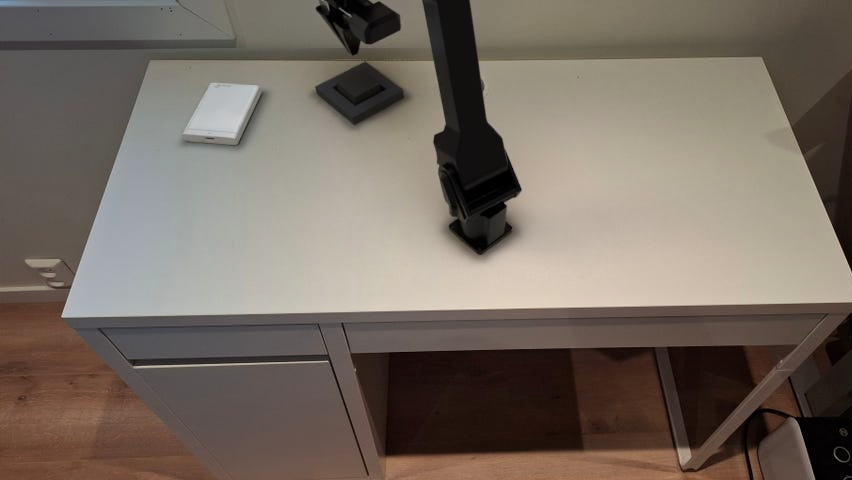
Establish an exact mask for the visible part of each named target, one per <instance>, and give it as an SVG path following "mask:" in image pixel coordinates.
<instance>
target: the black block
mask: <svg viewBox="0 0 852 480" xmlns="http://www.w3.org/2000/svg"><path fill="white" fill-rule="evenodd" d="M336 84H337V89H338V92H339V93H340V94H341V95H342V96H343V97H345V98H346V99H347V100H348V101H350V102H351V103H352V104H353V105H355V106H356V105H358V104H360V103H362V102H364V101H366V100H367V99H369V98H371V97H373V96H375V95H377V94H379V93H380V92H381V89H380V84H379V83H378V82H376V81H375V80H374V79H372V78H371V77H370V76H369V75H367V74H366V73H365V72H363V71H362V70H360V71H358V72H356V73H354V74H352V75H350V76H348V77H346V78H344V79H342V80H340V81H338V82H336Z"/></svg>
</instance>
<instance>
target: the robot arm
mask: <svg viewBox="0 0 852 480" xmlns="http://www.w3.org/2000/svg"><path fill="white" fill-rule="evenodd" d="M421 2H422V7H423V12H424V16H425V22H426V28H427V33H428V38H429V43H430V48H431V54H432V59H433V65H434V69H435V75H436V80H437V85H438V86H437V87H438V90H439V95H440V100H441V106H442V111H443V117H444V122H445V124H444V127H443V130H442V131H439V132H437V133H434V135H433V140H432V143H433V146H434V150H435V154H436V165H438V167H437V171H438V172H437V175H438V180H439V183H440V188H441V191H442V196H443V199H444V202H445V203H446V204H447V205H448V214H449V215H450V216H451V217H453V218H456V219H455V220H453V221H452V222H450V223H449V224H448V230H449V231H450V232H451V233H453V234H454V235H455V236H456V237H458V239H460V240H461V241H462V242H463V243H464V244H466V245H467V246H468V247H469V248H470V249H471V250H472V251H473V252H475V253H476V254H478V255H483V254H484V253H485V252H486V251H488V250H489V249H490V248H492V247H494V245H496V244H497V243H499V242H500V241H501V240H502V239H504V238H505V237H507V236H508V235H509V234H511V233H512V232H513V226H512V225H510V223H508V221H506V220H507V212H508V211H507V209H508V205H507V204H506V203H507V202H509V201H510V200H512V199H516V198H518V196H520V194H521V193H522V186H521V183H520V182H519V179H518V176H517V174H516V172H515V169H514V166H513V165H512V162H511V160H510V157H509V155H508V152H507V149H506V147H505V143H504V139H503V137H502V135H501V134H499V132H498V131H497V130H496V129H495V128H494V127H493V126H492V125H491V123H489V122H488V117H487V111H486V106H485V98H484V91H483V90H484V89H483V83H482V75H481V68H480V62H479V55H478V47H477V40H476V34H475V26H474V19H473V11H472V5H471V0H421ZM318 3H319V5H317V6H316V7H315V11H316V13H318V14H319V15H320V17H321V18H322V19H323V21H324V22H325V23H326V25H327V26H328V27H329V28H330V30H331V31H332V33H333V34H334V36H335V37H336V38H337V39H338V41H339V42H340V43H341V45H342V46H343V47H344V49H345V50H346V51H347V53H348V54H350V55H351V56H356V55H358V54H359V51H360V47H361V43H363V44H365V45H374V44H375V43H378V42H379V41H381V40H384V39H386V38H388V37H390V36H392V35H394V34H396V33H398V32H400V31H401V30H402V23H401V14H400V13H398V12H396V11H395V10H393V9H392V8H391V7H389V6H387V5H386V4H385V3H383V2H381V1H380V0H378V1H376V2H372V1H371V0H318Z"/></svg>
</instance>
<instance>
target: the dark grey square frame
mask: <svg viewBox="0 0 852 480" xmlns="http://www.w3.org/2000/svg"><path fill="white" fill-rule="evenodd" d="M360 70H362V71H363V72H365V73H366V74H367V75H369V76H370V77H371V78H372V79H374V80H375V81H376V82H378V83H379V84H380V89H381V92H380V93H379V94H377V95H375V96H373V97H371V98H369V99H367V100H366V101H364V102H362V103H360V104H358V105H356V106H355V105H353V104H352V103H351V102H350V101H348V100H347V99H346V98H345V97H343V96H342V95H341V94H340V93H339V92H338V89H337V84H336V82H338V81H340V80H342V79H344V78H346V77H348V76H350V75H352V74H354V73H356V72H358V71H360ZM314 88H315V92H316V94H317V96H319V97H320V98H321V99H322V100H323V101H325V102H326V103H327V104H328V105H329V106H331V107H332V108H333V109H334V110H335V111H337V112H338V113H339V114H340V115H341V116H342V117H344V118H345V119H346V120H347V121H348V122H349V123H351V124H352V125H353V126H355V125H357V124H358V123H360V122H363V121H364V120H366V119H367V118H370V117H372V116H373V115H374V114H376V113H378V112H380V111H382V110H384V109H385V108H387V107H389V106H391V105H392V104H395V103H397V102H398V101H400V100H402V99H404V98H405V92H404V89H403V88H402V87H400V86H399V85H398V84H396V83H395V82H394V81H393V80H391V79H390V78H388V77H387V76H386V75H385V74H383V73H381V72H380V71H379V70H378V69H376V68H375V67H374V66H372V65H371V64H370V63H368V62H367V61H366V60H365V61H363V62H362V63H359V64H357V65H355V66H353V67H351V68H349V69H347V70H345V71H343V72H341V73H339V74H337V75H335V76H333V77H331V78H329V79H327V80H325V81H324V82H322V83H319V84H318V85H316V86H314Z"/></svg>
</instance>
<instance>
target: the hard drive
mask: <svg viewBox="0 0 852 480" xmlns="http://www.w3.org/2000/svg"><path fill="white" fill-rule="evenodd" d="M262 92H263V91H262V89H261V86H260V85H254V84H242V83H241V84H239V83H227V82H226V83H225V82H211V83H210V84H209V86H208V87H207V89H206V91H205V93H204V95H203V96H202V98H201V100H200V102H199V104H198V106H197V107H196V110H195V111H194V113H193V115H191V118H190V120H189V122H188V123H187V126H186V127H185V129H184V131H183V133H182V137H183V139H184V141H186V142H191V143H202V144H203V143H204V144H216V145H217V144H218V145H225V146H226V145H227V146H237V145H238V144H239V142H240V140H241V137H242V136H243V134H244V131H245V129H246V127H247V125H248V123H249V121H250V118H251V117H252V114H253V113H254V110H255V108H256V106H257V104H258V102H259V99H260V97H261V94H262Z"/></svg>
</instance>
